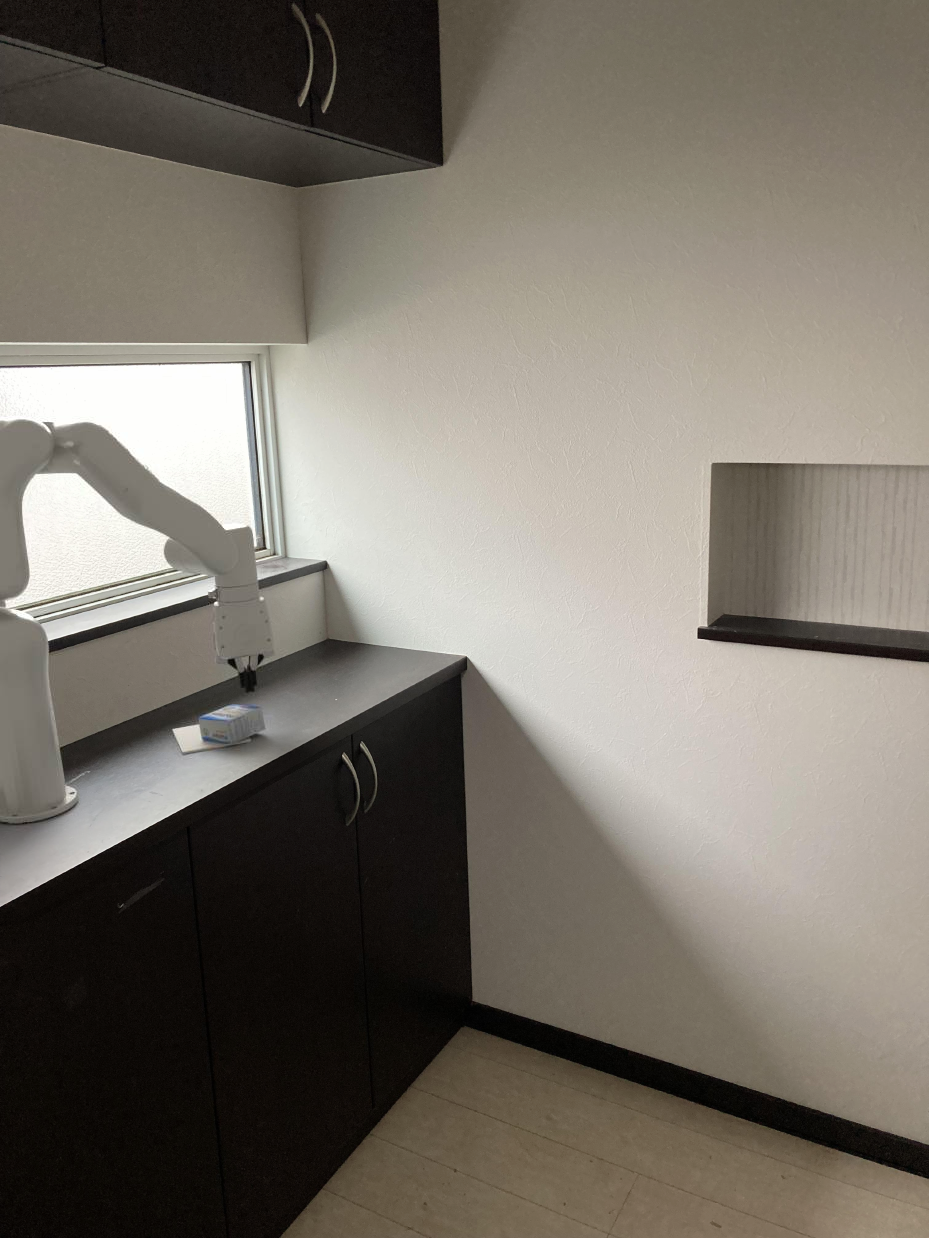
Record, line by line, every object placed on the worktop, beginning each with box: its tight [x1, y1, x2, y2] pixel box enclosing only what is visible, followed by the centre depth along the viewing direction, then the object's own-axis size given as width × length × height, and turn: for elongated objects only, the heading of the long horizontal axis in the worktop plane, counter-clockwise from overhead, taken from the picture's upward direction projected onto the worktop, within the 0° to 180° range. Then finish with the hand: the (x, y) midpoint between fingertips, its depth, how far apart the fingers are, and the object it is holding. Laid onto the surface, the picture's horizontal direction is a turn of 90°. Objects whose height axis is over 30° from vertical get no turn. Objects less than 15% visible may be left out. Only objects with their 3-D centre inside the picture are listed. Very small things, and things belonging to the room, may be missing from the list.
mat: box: [172, 723, 252, 755], centre depth 187 cm, size 12×14×1 cm
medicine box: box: [198, 703, 266, 744], centre depth 185 cm, size 8×4×9 cm
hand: (248, 690), depth 188 cm, fingers closed
